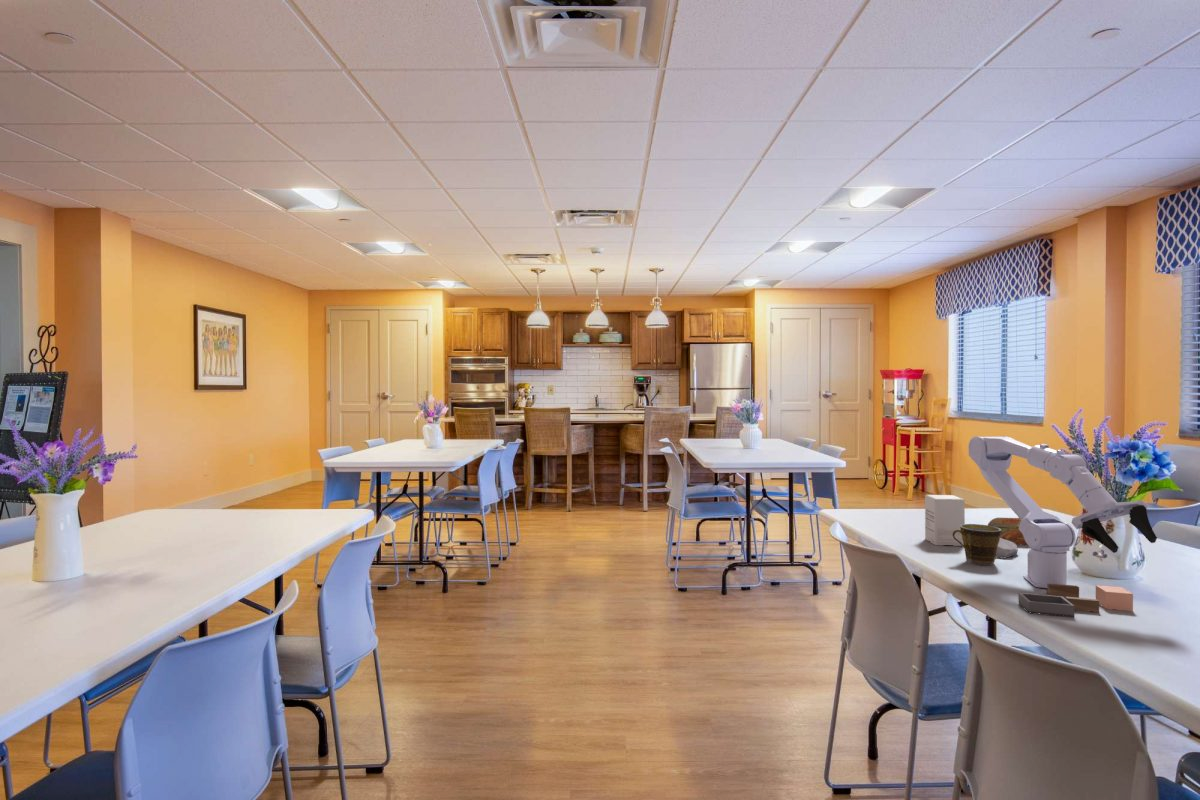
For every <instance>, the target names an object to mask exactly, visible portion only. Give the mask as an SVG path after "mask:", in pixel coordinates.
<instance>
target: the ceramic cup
mask: <svg viewBox="0 0 1200 800" xmlns="http://www.w3.org/2000/svg"><path fill="white" fill-rule="evenodd" d="M960 529H961V530H955V531H954V532H953V538H954V539H955V540H956V541H957V542H959V543H960V544H961V545H962V546H961V547H963V548H964V553H965V561H966V563H969V562H970V563H969V564H971V563H972V565H976V564H979V565H978V566H983V565H987V566H993V565H994V563H995V560H996V557H995V556H996V552H997V547H998V543H999V540H1000V535H1001V529H1000V528H997V527H993V526H988V524H977V523H965V524H963V525H961V526H960ZM956 532H960V533H961V535H962V540H963V544H964V545H963V544H962V543H961V542H960V541H959V540H957V539H956V538H955V536H954V535H955V533H956Z"/></svg>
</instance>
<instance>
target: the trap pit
mask: <svg viewBox="0 0 1200 800" xmlns="http://www.w3.org/2000/svg"><path fill="white" fill-rule="evenodd" d="M1017 599H1018V602H1017V603H1019V604H1020V605H1021V608H1022V609H1024V608H1025V609H1026V610H1027V611H1028V612H1031V613H1030V614H1033V613H1040V614H1039V615H1044V614H1049V615H1048V616H1055V615H1057V617H1068V618H1075V610H1074V605H1073V604H1072V603H1070V602H1069V601H1068V600H1066V599H1065V597H1063V596H1052V595H1048V594H1041V593H1040V594H1037V593H1026V592H1018V598H1017ZM1019 604H1018V605H1019ZM1020 605H1019V606H1020ZM1025 609H1024V610H1025ZM1026 610H1025V611H1026ZM1027 611H1026V612H1027ZM1028 612H1027V613H1028Z"/></svg>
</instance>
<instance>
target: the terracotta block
mask: <svg viewBox="0 0 1200 800" xmlns="http://www.w3.org/2000/svg"><path fill="white" fill-rule="evenodd" d="M1095 599H1097V600H1098V601H1099V604H1100V605H1099V606H1101V605H1102V606H1103V607H1102V606H1101V607H1102V608H1104V607H1105V608H1107V609H1106V610H1112V609H1117V610H1116V611H1123V610H1129V611H1128V612H1133V611H1134V594H1133V593H1132V592H1131V591H1129V590H1128V589H1125V588H1123V587H1121V586H1111V585H1110V586H1108V585H1098V584H1096V585H1095ZM1105 608H1104V609H1105Z"/></svg>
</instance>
